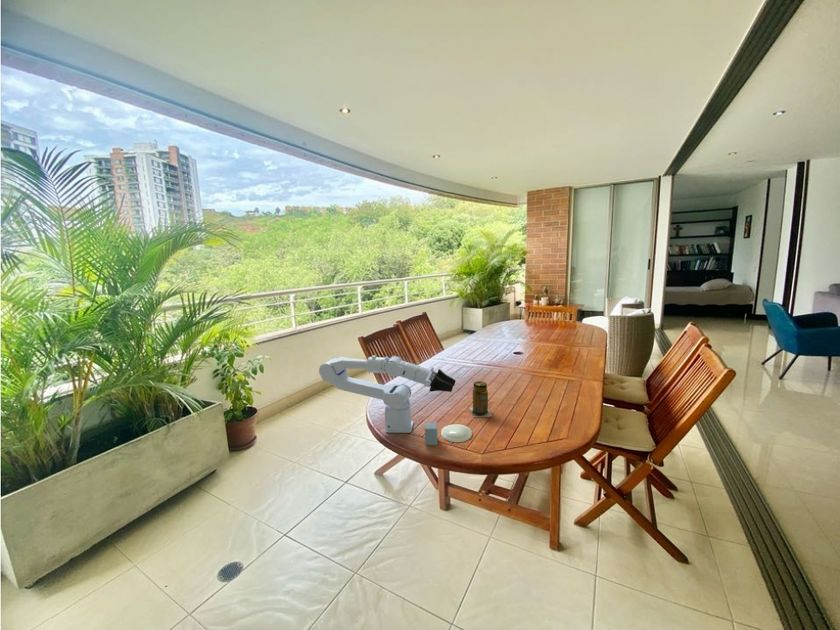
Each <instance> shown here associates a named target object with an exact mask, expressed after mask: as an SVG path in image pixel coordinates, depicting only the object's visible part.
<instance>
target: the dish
mask: <svg viewBox="0 0 840 630" xmlns="http://www.w3.org/2000/svg"><path fill="white" fill-rule="evenodd" d="M440 433H441V434H440V435H441V437H442V438H443V439H444V440H446V441H448V442H452V443H463V442H466V441H468V440H470V439H471V438H472V436H473V431H472V429H471V428H470V427H468V425H467V426H466V425H463V424H458V423H455V424H453V423H452V424H449V425H446V426H444V427H443V428H442V429H441V430H440Z"/></svg>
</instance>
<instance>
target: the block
mask: <svg viewBox="0 0 840 630" xmlns="http://www.w3.org/2000/svg"><path fill="white" fill-rule="evenodd" d="M424 425H425V426H424V439H425V440H424V442H425V443H424V444H425V446H437V445H438V441H439V440H438V439H439V438H438V436H439V433H438V432H439V429H438V422H425V424H424Z"/></svg>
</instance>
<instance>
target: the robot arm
mask: <svg viewBox="0 0 840 630" xmlns="http://www.w3.org/2000/svg"><path fill="white" fill-rule="evenodd" d="M348 370H366V371H367V372H368V373H373V374H374V373H375V374H387V375H388V377H390V378H391V377H392V378H393V377H396V376H397V377H401V378H404V379H406V380H409V381H412V382H415V383H418V384H421V385H423V386H424V387H427V388H429V392H431V393H432V392H448V393H452V392H453V388H454V387H455V385H456V381H457V380H456V379H454V378H452V377H451V376H450V375H447V374H446V373H445V372H444V371H443V370H442V369H440V368H439V369H438V371H436V370H434V366H432V367H431V368H430V369H429V368H426V367H423V366H420V365H417V364H414V363H411V362H409V361H405V360H403V359H402V358H401V357H400V356H397V355H392V356H391V357H389V356H385V357H380V356H379V357H377V355H375V354H373V355H372V356H369V357H368V358H367V359H365V358H364V359H362V358H352V357H346V356H333V357H332V358H331V359H329V360H328V361H326V362H324V363H322V364H321V365H320V366H319V368H318V373H319V376H320V377H321V379H322V381H323V382H327V383H330V384H331V385H332V386H334V387H335V388H336V389H338V390H340V391H344V392H349V393H353V394H356V395H361V396H365V397H369V398H372V399H373V398H374V399H378V400H381V401H383V404H384V405H385V408H384V423H385V425H384V426H385V433H394V434H395V433H396V434H397V433H398V434H399V433H401V434H403V433H404V434H409V433H412V430H413V425H414V420H412V415H411V414H412V413H411V412H412V411H411V403H410V402H411V401H410V397H411V396H412V390H411V388H410V386H409V385H407V384H405V383H400V384H388V385H387V384H382V383H377V382H373V381H368V380H366V379H359V378H354V377H350V376H349V374H348Z"/></svg>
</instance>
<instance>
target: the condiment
mask: <svg viewBox="0 0 840 630" xmlns="http://www.w3.org/2000/svg"><path fill="white" fill-rule="evenodd" d="M472 388H473V389H472V407H469V410H470V412H471V414H472V416H473V418H486V417H489V418H491V417H493V415H492V414H491V413H492V412H490V410H489V391H488V384H487V383H486V382H485V381H481V380H479V381H475V382H473V387H472Z"/></svg>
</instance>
